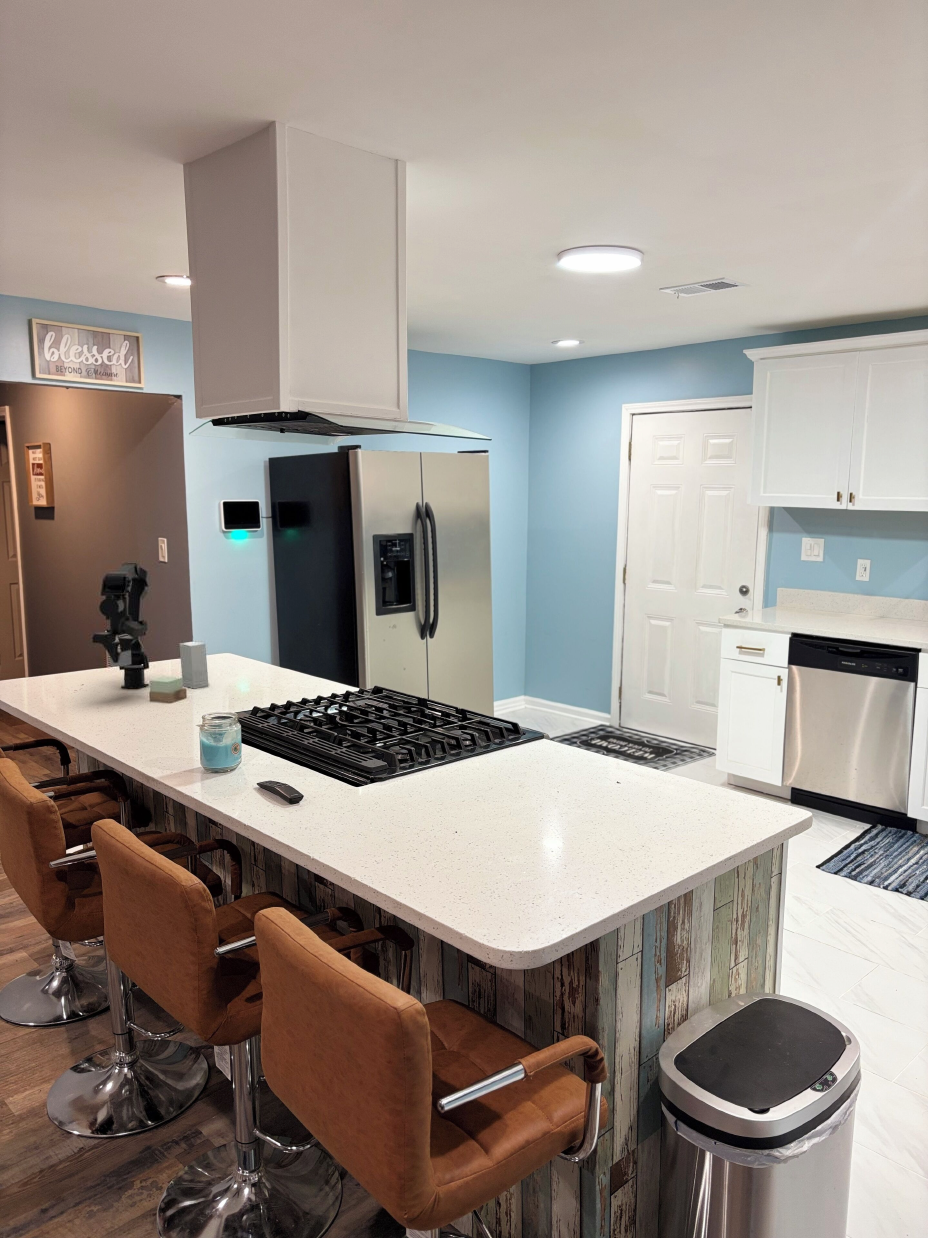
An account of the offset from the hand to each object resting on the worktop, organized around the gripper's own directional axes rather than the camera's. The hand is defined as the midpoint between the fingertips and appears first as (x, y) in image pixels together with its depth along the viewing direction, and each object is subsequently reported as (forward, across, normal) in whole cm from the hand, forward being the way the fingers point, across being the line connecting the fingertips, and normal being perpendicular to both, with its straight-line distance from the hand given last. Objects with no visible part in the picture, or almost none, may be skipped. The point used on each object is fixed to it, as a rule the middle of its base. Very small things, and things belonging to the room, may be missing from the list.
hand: (120, 661), depth 285 cm
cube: (+1, 0, 0) cm, 1 cm away
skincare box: (+12, +23, -11) cm, 28 cm away
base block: (+12, +3, -15) cm, 20 cm away
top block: (+9, +3, -15) cm, 17 cm away
